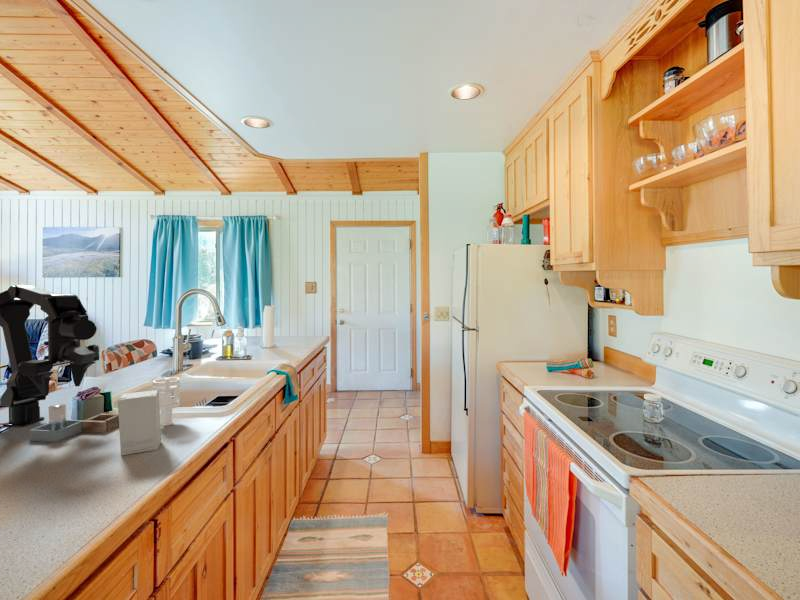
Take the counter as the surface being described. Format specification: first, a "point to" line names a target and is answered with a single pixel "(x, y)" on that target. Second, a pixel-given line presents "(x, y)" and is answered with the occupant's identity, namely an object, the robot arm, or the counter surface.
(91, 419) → the socket block
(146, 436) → the skincare box
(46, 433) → the tray
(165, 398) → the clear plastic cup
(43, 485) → the counter surface
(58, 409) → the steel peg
